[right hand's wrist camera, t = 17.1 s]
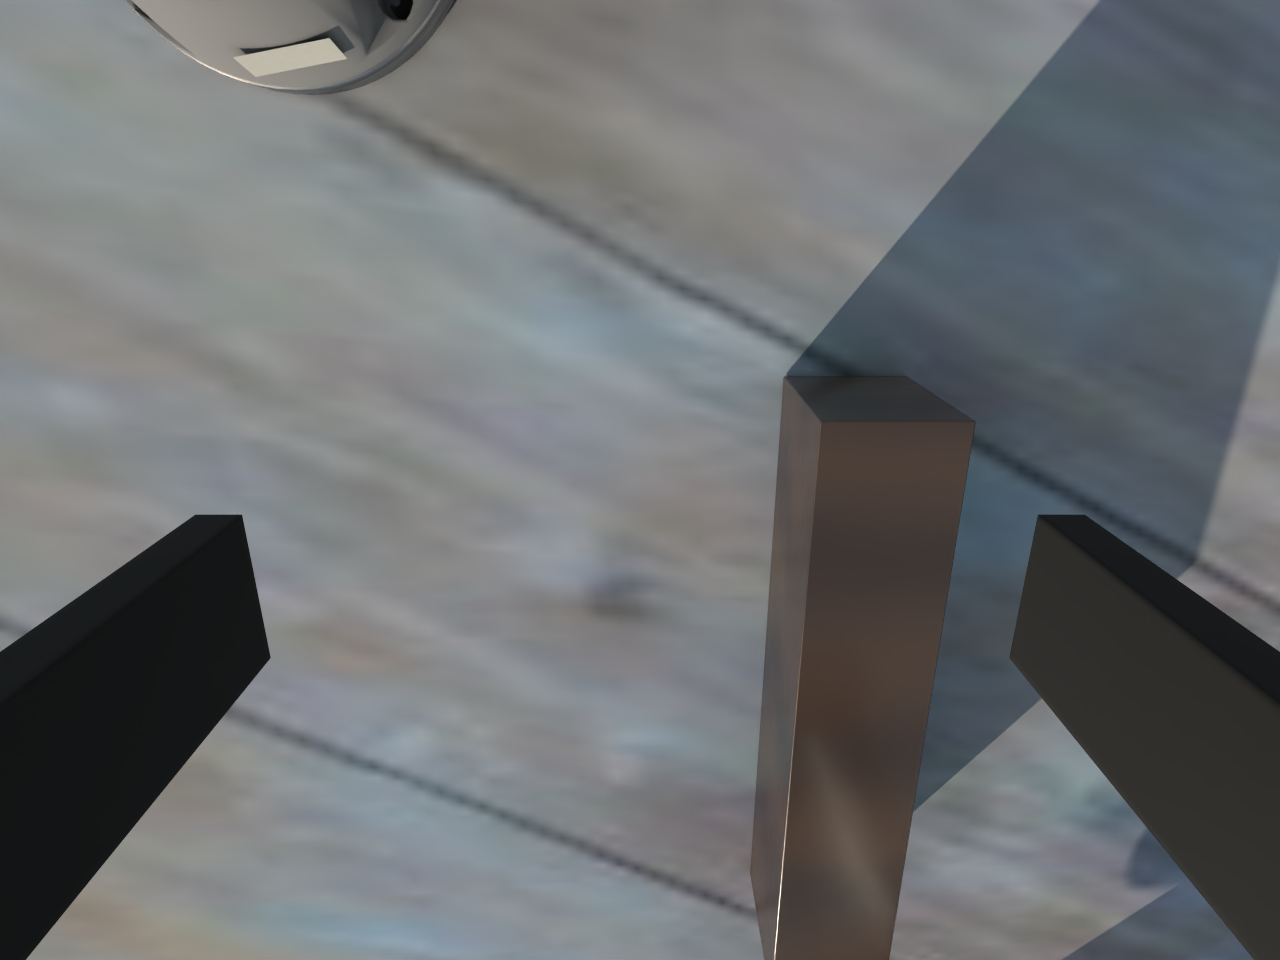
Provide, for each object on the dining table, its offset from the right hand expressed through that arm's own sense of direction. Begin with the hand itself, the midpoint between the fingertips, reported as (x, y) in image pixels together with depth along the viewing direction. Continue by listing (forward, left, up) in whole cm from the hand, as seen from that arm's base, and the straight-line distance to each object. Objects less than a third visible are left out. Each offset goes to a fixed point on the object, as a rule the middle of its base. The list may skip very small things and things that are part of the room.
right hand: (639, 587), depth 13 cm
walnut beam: (+18, +10, -25) cm, 32 cm away
